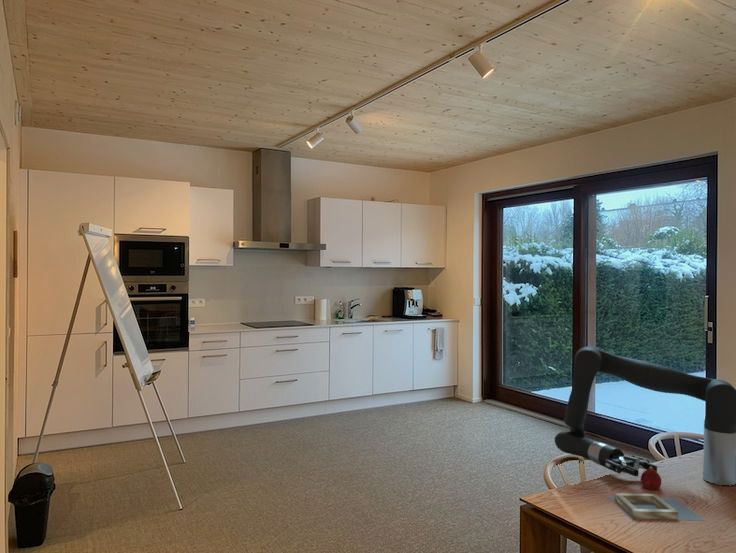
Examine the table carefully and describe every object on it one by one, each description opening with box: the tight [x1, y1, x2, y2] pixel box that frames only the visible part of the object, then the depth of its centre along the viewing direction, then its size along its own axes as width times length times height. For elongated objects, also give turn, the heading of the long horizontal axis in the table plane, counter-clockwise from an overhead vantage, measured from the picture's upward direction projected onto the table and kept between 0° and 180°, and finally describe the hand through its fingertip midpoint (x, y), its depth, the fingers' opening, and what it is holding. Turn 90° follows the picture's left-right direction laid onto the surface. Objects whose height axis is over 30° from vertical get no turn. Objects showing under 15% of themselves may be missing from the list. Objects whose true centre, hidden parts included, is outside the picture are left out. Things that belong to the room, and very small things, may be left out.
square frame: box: [614, 492, 678, 520], centre depth 155 cm, size 12×12×2 cm
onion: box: [640, 466, 662, 491], centre depth 171 cm, size 6×6×8 cm
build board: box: [607, 495, 705, 522], centre depth 156 cm, size 20×15×2 cm
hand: (647, 471), depth 172 cm, fingers open, 8 cm apart
